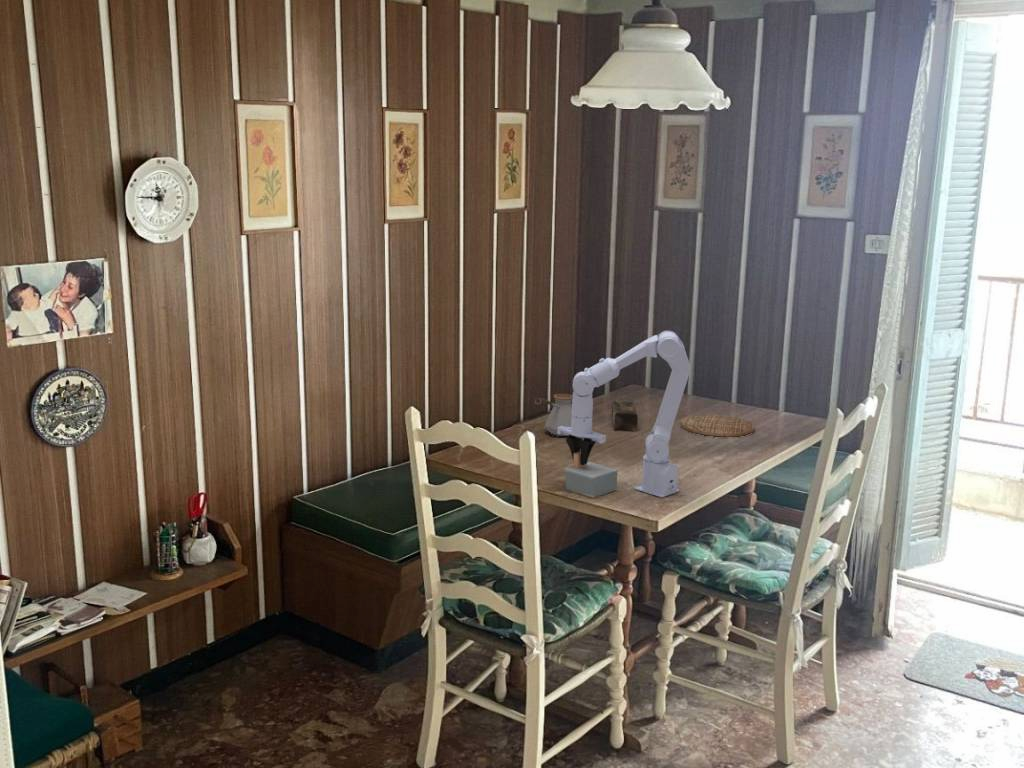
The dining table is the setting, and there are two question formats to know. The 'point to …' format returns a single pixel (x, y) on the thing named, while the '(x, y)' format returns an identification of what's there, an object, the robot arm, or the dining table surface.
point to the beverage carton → (624, 416)
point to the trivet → (717, 425)
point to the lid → (588, 469)
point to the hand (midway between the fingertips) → (580, 463)
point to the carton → (591, 484)
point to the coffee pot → (559, 413)
